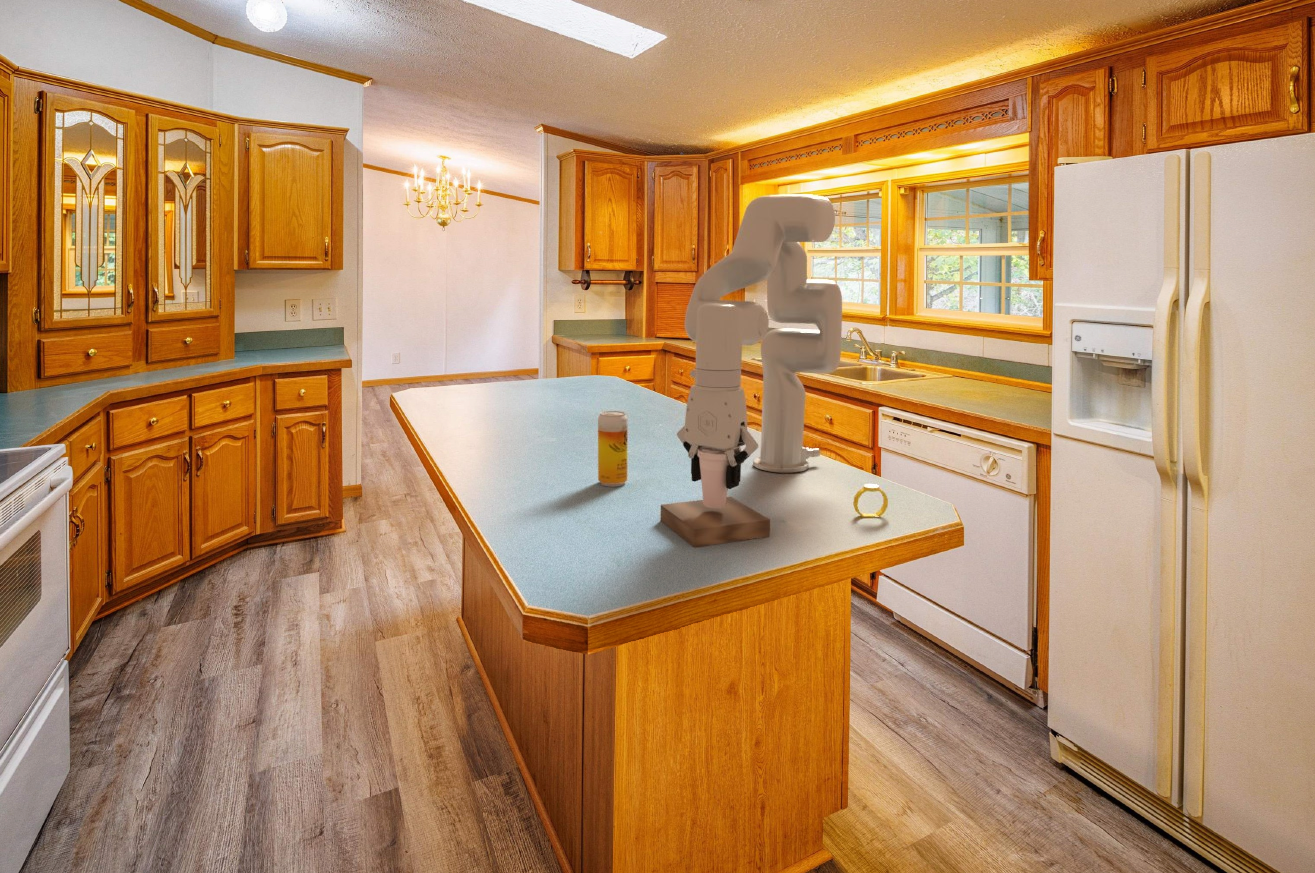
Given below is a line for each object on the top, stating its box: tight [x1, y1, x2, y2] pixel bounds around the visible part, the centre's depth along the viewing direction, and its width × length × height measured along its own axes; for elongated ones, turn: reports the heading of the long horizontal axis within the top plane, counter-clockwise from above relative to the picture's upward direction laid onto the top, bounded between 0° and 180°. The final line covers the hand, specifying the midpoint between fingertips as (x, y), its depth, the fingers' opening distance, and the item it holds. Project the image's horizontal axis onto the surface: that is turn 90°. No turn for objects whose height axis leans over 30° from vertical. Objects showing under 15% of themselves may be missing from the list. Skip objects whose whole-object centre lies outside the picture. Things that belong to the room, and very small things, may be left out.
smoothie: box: [697, 447, 730, 508], centre depth 124 cm, size 6×6×14 cm
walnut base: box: [660, 496, 771, 548], centre depth 126 cm, size 14×14×3 cm
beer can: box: [597, 410, 629, 488], centre depth 151 cm, size 6×6×15 cm
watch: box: [853, 483, 889, 518], centre depth 133 cm, size 6×3×6 cm, turn 93°
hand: (715, 482), depth 124 cm, fingers open, 6 cm apart
